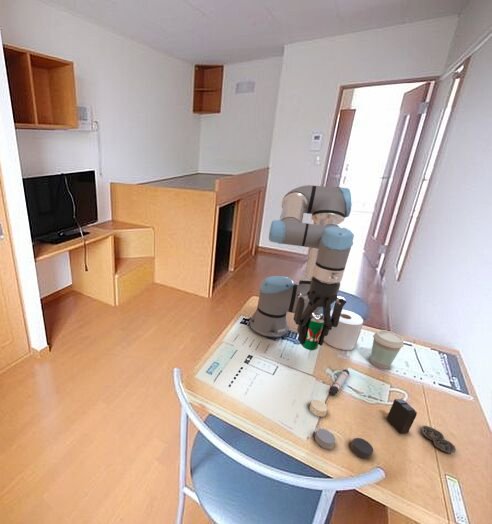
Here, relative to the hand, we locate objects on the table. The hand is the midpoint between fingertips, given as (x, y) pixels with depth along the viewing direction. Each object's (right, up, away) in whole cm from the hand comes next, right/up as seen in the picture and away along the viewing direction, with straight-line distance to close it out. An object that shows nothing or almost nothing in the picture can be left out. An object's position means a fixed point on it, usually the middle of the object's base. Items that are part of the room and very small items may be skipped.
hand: (309, 342), depth 100 cm
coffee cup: (+32, -11, +12) cm, 36 cm away
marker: (+10, -15, +1) cm, 18 cm away
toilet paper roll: (+25, -6, +24) cm, 35 cm away
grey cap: (-6, -22, -18) cm, 29 cm away
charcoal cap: (+2, -23, -20) cm, 31 cm away
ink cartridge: (+18, -21, -13) cm, 30 cm away
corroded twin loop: (+25, -23, -17) cm, 38 cm away
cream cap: (-2, -19, -8) cm, 20 cm away
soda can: (0, -2, +1) cm, 2 cm away
